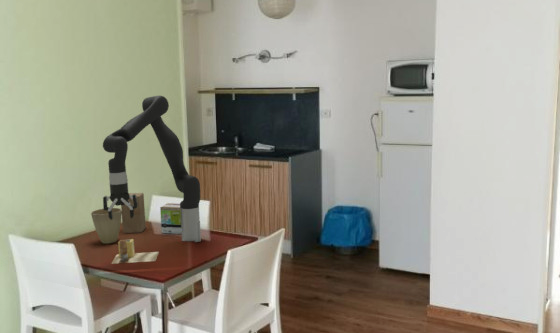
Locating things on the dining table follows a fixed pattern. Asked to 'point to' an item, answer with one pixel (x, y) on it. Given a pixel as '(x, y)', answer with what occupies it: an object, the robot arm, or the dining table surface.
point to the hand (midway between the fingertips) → (121, 218)
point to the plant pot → (107, 224)
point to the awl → (123, 250)
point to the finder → (128, 248)
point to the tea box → (171, 218)
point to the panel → (137, 258)
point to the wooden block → (138, 219)
